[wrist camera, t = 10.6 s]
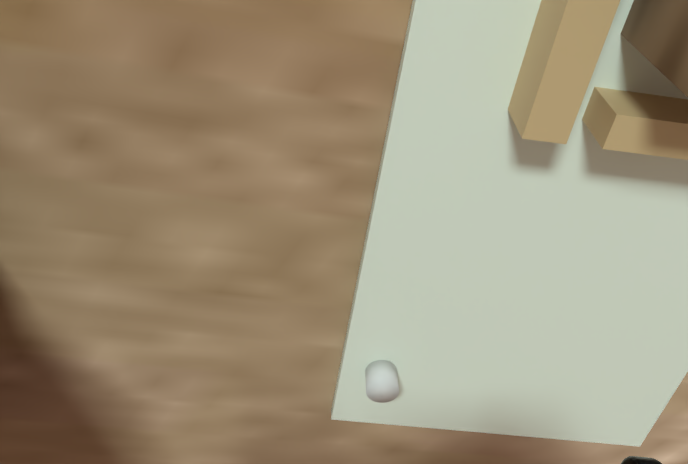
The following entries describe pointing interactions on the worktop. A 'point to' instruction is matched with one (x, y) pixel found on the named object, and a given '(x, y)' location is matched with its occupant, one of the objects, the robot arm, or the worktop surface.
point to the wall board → (524, 230)
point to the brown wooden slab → (661, 36)
